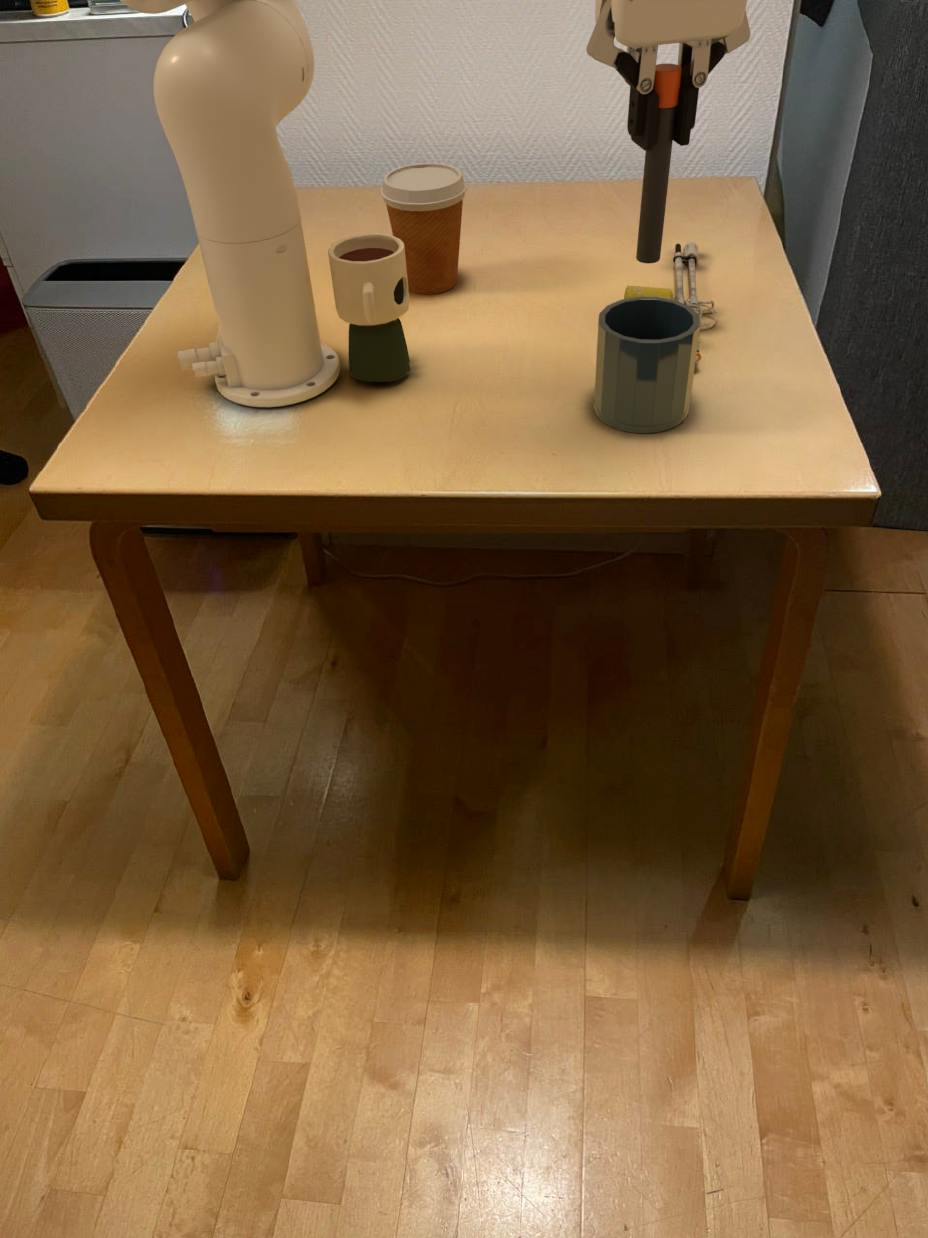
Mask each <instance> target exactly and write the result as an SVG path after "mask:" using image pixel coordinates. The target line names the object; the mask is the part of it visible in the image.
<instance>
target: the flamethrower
mask: <svg viewBox="0 0 928 1238" xmlns="http://www.w3.org/2000/svg"><path fill="white" fill-rule="evenodd" d="M674 252H675V253H674V257H673V258H672V262H673V263H674V269H675V271H674V272H675V273H674V275H675V297H674V293H673V290H672V289H671V288H666V287H653V286H638V285H627V286H626V287H625V290H624V296H623V299H628V298H634V297H661V298H666V299H671V300H676V301H679V302H681V303H683V304H685V305H688V306H690V307H691V308H692V309H693V310H694V311H695V312H697V313H698V314H699V317H700V318H702V317H703V314H708V313H710V312H711V311H712V312H714V313H715V317H714V319H713V322H712V323H711V324H709V325H706V326H700V330H704V329H709V328H711V327H712V326H714V325H715V323H716V322H717V321H716V320H717V319H718V316H719V311H718V310H715V309H714V308H715V301H714V300H712V299H711V300H708V301H701V299H699V298H698V296H697V280H696V264H697V263H698V262H697V261H698V260H699V257H700V255H699V254H700V253H699V246H698V244H696V242H692V241H691V242H688V243H686V244H685V246H684V247H683V254H682V244H681V243H676V244H675V245H674ZM683 264H685V265H686V264H687V265H688V275H689V276H688V277H689V294H690V295H689V297H688V299H685V296H684V275H683V274H684V273H683V272H684V270H683ZM710 304H711V306H710ZM702 307H705V308H708V309H706V310H703V308H702ZM699 343H701V340H699V339H698V346H697V354H696V363H697V362H698V363H699V361H700V360H701V359H702V355H701V352H700V349H699V348H700V347H699Z"/></svg>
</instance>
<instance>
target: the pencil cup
mask: <svg viewBox="0 0 928 1238" xmlns="http://www.w3.org/2000/svg"><path fill="white" fill-rule="evenodd" d="M699 314H700V313H699ZM699 314H698V313H697V312H695V311H694V310H693V309H692V308H691V307H690V306H688V305H685V304H683V303H681V302H679V301H676V300H671V299H666V298H661V297H634V298H628V299H624V298H623V299H619V300H617V301H614V302H612V303H610V304H608V305H606V306H605V307H604V308H603V309H602V310H601V311H600V312H599V313H598V323H597V325H598V326H597V341H596V342H597V343H596V358H595V359H596V361H595V378H594V379H595V380H594V397H593V399H594V400H593V411H594V413H595V415H596V417H597V418H598V419H599V420H600V421H601V422H602V423H604V424H605V425H607V426H608V427H611V428H614V429H615V430H618V431H622V432H626V433H632V434H653V433H661V432H666V431H668V430H671V429H673V428H675V427H677V426H680V424H682V422H684V421H685V419H686V418H687V417H688V414H689V410H690V406H691V399H692V392H693V384H694V377H695V368H696V363H697V361H696V354H697V346H698V344H699V343H698V340H699V338H700V332H701V331H700V330H701V329H700V327H701V317H699Z"/></svg>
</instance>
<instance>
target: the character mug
mask: <svg viewBox="0 0 928 1238" xmlns="http://www.w3.org/2000/svg"><path fill="white" fill-rule="evenodd" d="M327 254H328V262H329V268H330V275H331V282H332V290H333V298H334V304H335V309H336V314H337V316H338V317H339V319H340V320H342V321H344V323H347V324H348V355H347V357H348V374H349V375H350V376H351V377H352V378H353V379H355V380H358V381H359V380H360V381H364V382H375V383H376V382H377V383H384V382H387V383H388V382H389V383H391V382H392V383H393V382H395V381H398V380H400V379H403V378H405V377H406V376H407V375H408V374H409V372H410V371H411V365H410V364H411V361H410V355H409V350H408V344H407V340H406V336H405V332H404V328H403V325H402V321H401V319H400V318H401V317H402V316H404V315H405V314H406V313H407V312H408V311H409V308H410V294H409V293H410V291H409V290H408V279H407V270H406V258H405V247H404V243H403V242H402V241H401V240H400V239H399V238H397V237H394V236H393V234H386V233H380V232H365V233H357V234H351V235H349V236H345V237H342V238H340V239H338V240H337V241H335V242H333V243H331V245H330V246H329V248H328V249H327Z"/></svg>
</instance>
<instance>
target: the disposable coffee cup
mask: <svg viewBox="0 0 928 1238" xmlns="http://www.w3.org/2000/svg"><path fill="white" fill-rule="evenodd" d="M467 190H468V184H467V182H466V181H465V179H464V176H463V173H462V171H461V170H460V169H459V168H457V167H455V166H454V165H450V164H447V163H438V162H436V163H435V162H419V163H411V164H406V165H402V166H399V167H396V168H393V169H391V170H389V171H388V172H387V173H385V175H384V176H383V181H382V186H381V187H380V191H379V192H380V195H381V198H382V200H383V201H384V203H385V205H386V210H387V213H388V218H389V223H390V228H391V233H392V236H394V237H397V238H399V239H400V240H401V241H402V242H403V243H404V247H405V258H406V270H407V279H408V291H409V292H412V293H416V294H422V295H430V294H433V295H434V294H441V293H444V292H447V291H449V290H451V289H452V288H454V287H455V286H456V285H457V283H458V271H459V259H460V245H461V234H462V233H461V231H462V216H463V204H464V202H463V201H464V197H465V195H466V192H467Z"/></svg>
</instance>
